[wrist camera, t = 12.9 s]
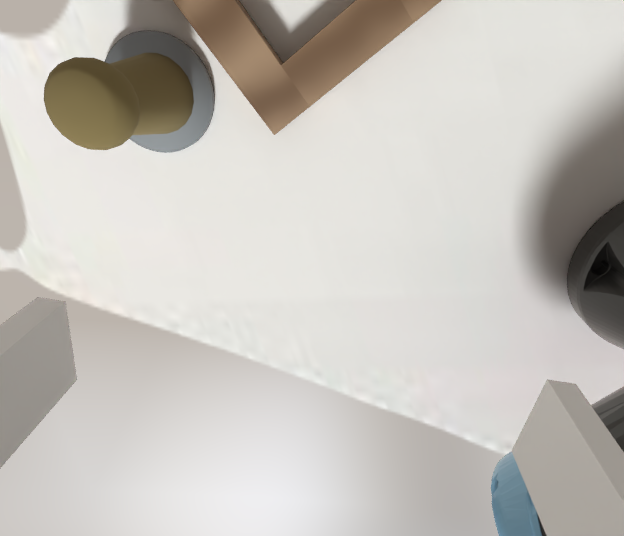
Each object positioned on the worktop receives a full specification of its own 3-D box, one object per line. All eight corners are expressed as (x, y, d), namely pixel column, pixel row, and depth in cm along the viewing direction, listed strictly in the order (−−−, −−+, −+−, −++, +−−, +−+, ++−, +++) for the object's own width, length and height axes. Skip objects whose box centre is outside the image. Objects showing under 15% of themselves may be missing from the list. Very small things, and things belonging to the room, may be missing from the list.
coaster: (237, 106, 34) (235, 107, 34) (161, 171, 37) (158, 173, 36) (157, 3, 31) (154, 2, 31) (83, 82, 34) (78, 83, 34)
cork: (104, 93, 34) (4, 105, 24) (148, 33, 32) (58, 20, 22) (163, 149, 35) (92, 182, 26) (209, 96, 33) (150, 110, 23)
